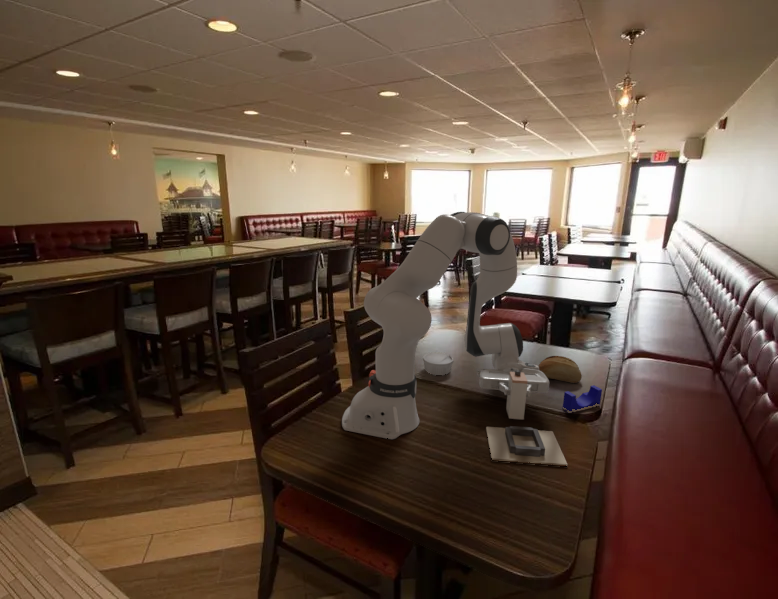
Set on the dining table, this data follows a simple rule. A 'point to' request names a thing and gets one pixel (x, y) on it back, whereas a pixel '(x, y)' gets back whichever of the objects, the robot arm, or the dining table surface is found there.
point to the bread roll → (560, 369)
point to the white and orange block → (516, 395)
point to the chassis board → (524, 445)
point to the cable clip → (582, 399)
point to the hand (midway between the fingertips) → (517, 393)
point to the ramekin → (437, 363)
